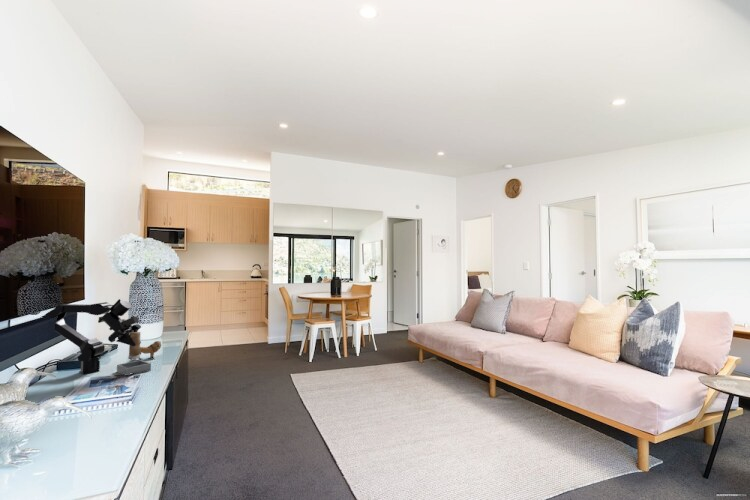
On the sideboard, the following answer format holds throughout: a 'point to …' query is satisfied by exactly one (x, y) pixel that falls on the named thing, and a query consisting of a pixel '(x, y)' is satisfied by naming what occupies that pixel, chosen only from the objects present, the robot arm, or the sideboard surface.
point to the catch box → (133, 367)
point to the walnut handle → (134, 350)
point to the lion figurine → (150, 349)
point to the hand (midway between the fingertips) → (137, 344)
